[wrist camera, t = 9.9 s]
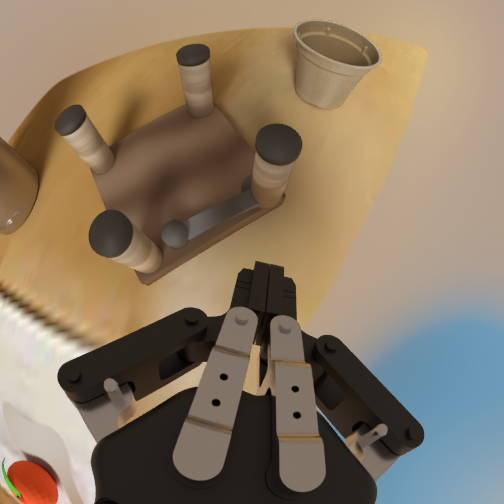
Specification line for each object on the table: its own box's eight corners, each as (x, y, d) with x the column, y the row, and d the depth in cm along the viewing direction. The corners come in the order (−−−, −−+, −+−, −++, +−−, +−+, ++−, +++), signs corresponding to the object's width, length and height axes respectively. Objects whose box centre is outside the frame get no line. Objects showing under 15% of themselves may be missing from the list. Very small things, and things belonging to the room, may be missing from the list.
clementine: (14, 451, 17) (-16, 467, 10) (35, 441, 18) (1, 459, 11) (51, 498, 15) (27, 520, 8) (76, 492, 17) (50, 519, 10)
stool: (95, 170, 25) (51, 118, 15) (209, 106, 27) (203, 38, 18) (149, 287, 23) (99, 272, 13) (285, 204, 25) (311, 147, 16)
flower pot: (313, 61, 30) (328, 13, 21) (368, 101, 29) (395, 56, 20) (265, 85, 28) (273, 29, 20) (326, 133, 27) (353, 79, 19)
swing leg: (173, 257, 21) (141, 229, 13) (159, 228, 21) (126, 189, 14) (288, 200, 22) (311, 151, 15) (272, 174, 23) (286, 118, 15)
